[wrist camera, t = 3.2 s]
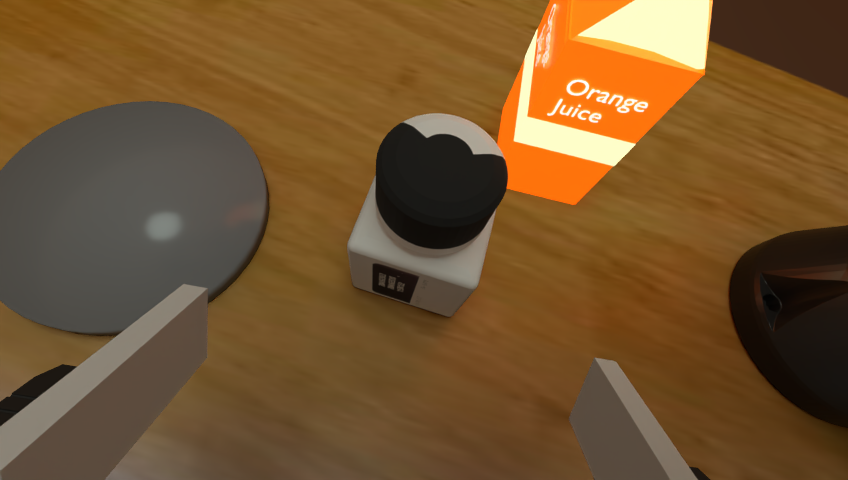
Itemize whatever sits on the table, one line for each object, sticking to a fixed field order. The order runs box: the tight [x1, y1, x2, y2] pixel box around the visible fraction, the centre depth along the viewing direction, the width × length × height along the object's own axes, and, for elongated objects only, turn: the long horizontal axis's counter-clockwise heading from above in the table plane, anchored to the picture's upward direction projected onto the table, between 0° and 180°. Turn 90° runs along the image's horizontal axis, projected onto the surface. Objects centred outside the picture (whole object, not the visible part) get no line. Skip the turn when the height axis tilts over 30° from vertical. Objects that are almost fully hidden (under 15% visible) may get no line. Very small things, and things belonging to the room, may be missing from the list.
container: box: [347, 114, 508, 317], centre depth 25 cm, size 8×8×13 cm
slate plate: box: [0, 101, 269, 336], centre depth 28 cm, size 18×18×2 cm
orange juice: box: [497, 0, 713, 205], centre depth 27 cm, size 8×9×20 cm
